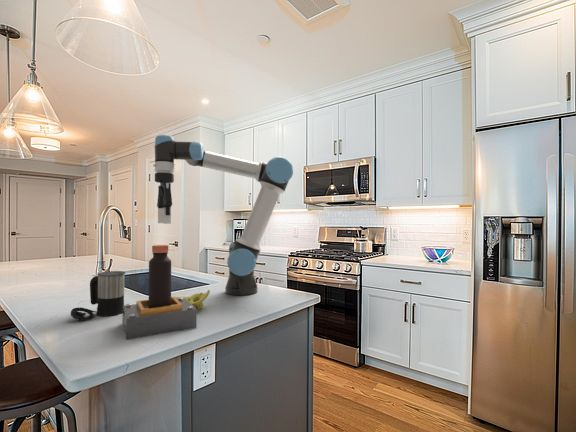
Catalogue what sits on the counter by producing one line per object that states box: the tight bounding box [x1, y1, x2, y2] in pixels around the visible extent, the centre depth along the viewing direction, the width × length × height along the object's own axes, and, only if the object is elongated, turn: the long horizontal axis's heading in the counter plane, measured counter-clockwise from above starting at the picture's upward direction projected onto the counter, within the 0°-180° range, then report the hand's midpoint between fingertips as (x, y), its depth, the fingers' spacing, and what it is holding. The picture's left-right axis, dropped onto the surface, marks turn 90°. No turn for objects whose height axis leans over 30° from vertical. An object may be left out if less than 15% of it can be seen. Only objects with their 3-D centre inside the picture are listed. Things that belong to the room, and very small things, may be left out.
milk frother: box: [70, 270, 126, 321], centre depth 116 cm, size 14×16×15 cm
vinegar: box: [148, 244, 172, 308], centre depth 104 cm, size 7×7×20 cm
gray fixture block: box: [121, 296, 198, 341], centre depth 104 cm, size 20×16×8 cm
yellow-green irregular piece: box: [171, 289, 211, 311], centre depth 125 cm, size 20×7×10 cm
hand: (164, 223), depth 136 cm, fingers open, 13 cm apart
